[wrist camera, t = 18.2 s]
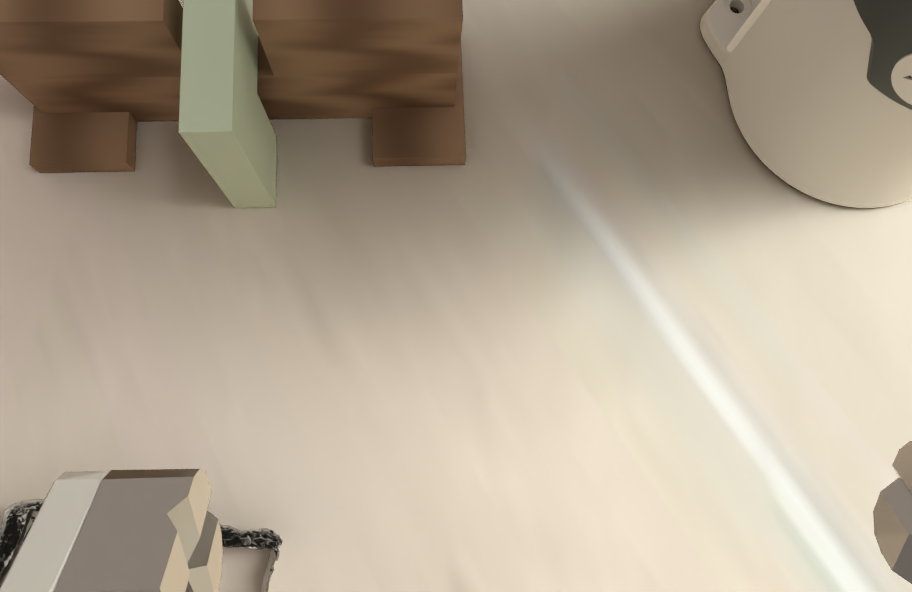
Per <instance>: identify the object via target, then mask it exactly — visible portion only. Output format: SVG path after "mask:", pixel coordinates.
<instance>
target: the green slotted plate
mask: <svg viewBox="0 0 912 592" xmlns="http://www.w3.org/2000/svg"><path fill="white" fill-rule="evenodd" d="M252 15H253V0H183V26H182V53H181V80H180V106H179V134H180V135H181V136H182V138H183V139H184V140H185V142H186V143H187V144H188V146H189V147H190V148H191V150H192V151H193V152H194V154H195V155H196V156H197V158H198V159H199V160H200V162H201V163H202V165H203V166H204V167H205V169H206V170H207V171H208V173H209V174H210V175H211V177H212V178H213V179H214V181H215V182H216V183H217V185H218V186H219V187H220V189H221V190H222V191H223V193H224V194H225V195H226V197H227V198H228V199H229V201H230V202H231V203H232V205H233V206H234V208H258V207H276V144H277V136H276V134H275V132H274V130H273V127H272V125H271V123H270V121H269V118H268V116H267V114H266V112H265V110H264V107H263V105H262V103H261V101H260V98H259V96H258V94H257V74H258V33H257V30H256V28H255V25H254V23H253V20H252Z"/></svg>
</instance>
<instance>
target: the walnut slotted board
mask: <svg viewBox="0 0 912 592" xmlns="http://www.w3.org/2000/svg"><path fill="white" fill-rule="evenodd" d="M252 20H253V23H254V25H255V28H256V30H257V33H258V74H257V94H258V96H259V98H260V101H261V103H262V105H263V107H264V110H265V112H266V114H267V116H268V118H269V119H312V118H372V136H373V162H374V166H421V165H464V164H465V158H466V152H465V129H464V105H463V82H462V58H461V32H462V21H463V10H462V0H253V15H252ZM182 26H183V8H182V6H181V4H180V3H179V1H178V0H0V74H1V75H2V76H3V77H4V78H5V79H6V80H7V81H8V82H9V83H11V84H12V85H13V86H14V87H15V88H16V89H17V90H18V91H19V92H20V93H21V94H23V95H24V96H25V97H26V98H27V99H28V100H29V101H30V102H31V103H32V104H34V112H33V125H32V138H31V150H30V163H29V165H31V166H32V167H33V168H35V169H36V170H37V171H39V172H40V173H58V172H110V171H135V150H136V130H137V121H179V106H180V80H181V53H182Z"/></svg>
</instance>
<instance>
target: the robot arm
mask: <svg viewBox="0 0 912 592" xmlns="http://www.w3.org/2000/svg"><path fill="white" fill-rule="evenodd" d="M730 7H734V8H736V9H737V10H738V11H739V13H734V12H732V11H731V9H730ZM700 30H701V33H702V36H703V38H704V40H705V42H706V44H707V45H708V47H709V49H710V50H711V52H712V53H713V55H714V56H715V58H716V59H717V61H718V62H719V64H720V65H721V66H722V69H723V72H724V75H725V79H726V84H727V90H728V95H729V101H730V104H731V108H732V111H733V114H734V117H735V120H736V122H737V125H738V127H739V129H740V131H741V133H742V135H743V136H744V138H745V140H746V141H747V143H748V144H749V146H750V147H751V149H752V150H753V151H754V153H755V154H756V155H757V156H758V157H759V159H760V160H761V161H762V162H763V163H764V164H765V165H766V166H767V167H768V168H769V169H770V170H771V171H772V172H774V173H775V174H776V175H777V176H778V177H780V178H781V179H782V180H784V181H785V182H786V183H788V184H789V185H791V186H793V187H794V188H796V189H798V190H800V191H801V192H803V193H805V194H807V195H810V196H812V197H814V198H817V199H819V200H822V201H825V202H829V203H832V204H836V205H841V206H847V207H856V208H877V207H885V206H891V205H895V204H899V203H902V202H905V201H908V200H911V199H912V0H715V1H714V3H713V4H712V5H711V6H710V7H709V9H708V10H707V11H706V12H705V14H704V15H703V17H702V19H701V22H700ZM893 467H894V469H895V471H896V473H897V475H898V477H899V478H898V479H897V480H895V481H894V482H893V483H891V484H890V485H889V486H887V487H886V488H885V489H883V490H882V491H881V492H880V495H879V497H878V500H877V503H876V506H875V508H874V511H873V516H874V532H875V537H876V539H877V542H878V545H879V548H880V551H881V553H882V555H883V556H884V558H885V560H886V561H887V563H888V565H889V566H890V568H891V569H892V571H894V572H895V573H897V574H898V575H900V576H901V577H902V578H904V579H905V580H907V581H908V582H910V583H911V584H912V441H910V442H908V443H907V444H906V445H904V446H903V447H902V448H901V449H899V451H898V454H897V456H896V458H895V460H894V462H893ZM211 493H212V491H211V488H210V484H209V481H208V477H207V474H206V471H203V470H201V469H164V470H111V471H84V472H65V473H64V474H62V475H61V476H60V477H59V478H58V479H57V480H56V481H55V482H54V483H53V485H52V487H51V489H50V491H49V492H48V494H47V496H46V498H45V500H44V502H43V504H42V506H41V508H40V510H39V512H38V514H37V516H36V518H35V520H34V522H33V524H32V526H31V528H30V530H29V532H28V534H27V536H26V538H25V540H24V542H23V544H22V546H21V548H20V550H19V552H18V554H17V556H16V558H15V560H14V562H13V564H12V566H11V568H10V570H9V572H8V574H7V576H6V578H5V580H4V581H3V583H2V585H1V587H0V592H218V591H219V586H220V581H221V572H222V559H223V547H222V534H221V530H220V525H219V521H218V519H217V518H216V517H215V516H213V515H212V514H211V513H210V512H208V511H207V508H208V505H209V501H210V497H211Z"/></svg>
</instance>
